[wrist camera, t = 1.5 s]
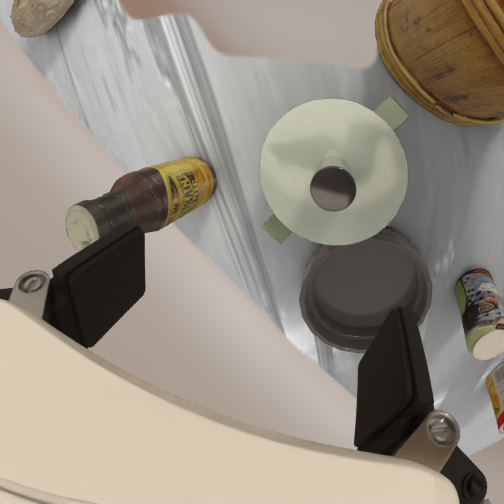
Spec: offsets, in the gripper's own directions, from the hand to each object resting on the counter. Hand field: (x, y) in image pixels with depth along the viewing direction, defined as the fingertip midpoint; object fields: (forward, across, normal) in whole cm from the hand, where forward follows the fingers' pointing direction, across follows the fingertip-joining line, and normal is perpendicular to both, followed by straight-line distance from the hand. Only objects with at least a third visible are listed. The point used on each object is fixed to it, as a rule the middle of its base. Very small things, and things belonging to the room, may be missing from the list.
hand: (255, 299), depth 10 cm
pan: (+25, -10, +12) cm, 29 cm away
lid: (+16, -2, -2) cm, 16 cm away
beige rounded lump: (+25, +49, -28) cm, 62 cm away
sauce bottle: (+25, +14, +4) cm, 29 cm away
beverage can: (+25, -25, +7) cm, 36 cm away
